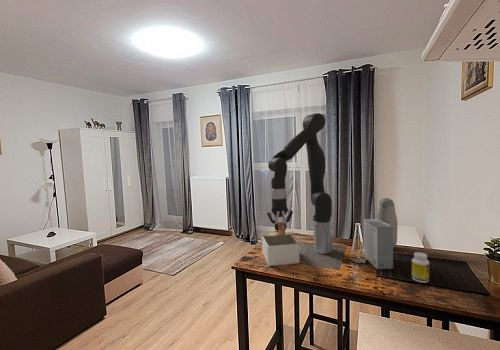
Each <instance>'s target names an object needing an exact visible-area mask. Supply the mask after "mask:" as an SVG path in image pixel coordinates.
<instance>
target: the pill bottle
mask: <svg viewBox="0 0 500 350" xmlns="http://www.w3.org/2000/svg"><path fill="white" fill-rule="evenodd" d="M411 279H412V280H413V281H415V282H418V283H423V284H425V283H429V281H430V261H429V260H428V254H427V253H424V252H419V251H418V252H417V251H416V252H414V253H413V258H412V259H411Z"/></svg>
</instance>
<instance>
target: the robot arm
mask: <svg viewBox="0 0 500 350" xmlns="http://www.w3.org/2000/svg"><path fill="white" fill-rule="evenodd" d="M325 125H326V117H325V116H324V114H322V113H319V112H318V113H317V112H315V113H312V114H309V115H306V116H305V117H303V120H302V130H301V131H300V132H299V133H298V134H296V135H295V136H294V137H293V138H291V139H290V140H289V141H288V142H287V143H286V144H285V145H284V146H283V147H282V149H280V150H279V151H278V152H277V153H276V154H274V155H273V156H272V157H271V158H270V160H269V161H268V169H269V170H270V171H271V172H273V173H274V175H273V177H272V178H271V180H270V181H271V185H270V187H271V192H270V193H271V194H270V195H271V210H269V211H266V215H267V216H268V219H269V221H270V222H271V224H274V230H275V231H276V232H277V231H278V224H277V223H278V222H279V218H281V219H282V222H284V226H285V230H287V223H290V221H291V219H292V217H293V213H294V211H293V210H291V209H288V203H287V201H288V199H287V197H288V196H287V189H286V177H287V174H288V173H287V172H288V163H287V162H288V161H291V160H292V159H293V158H294V157H295V156H296V154H298V152H299V151H300V150H301V149H302V147H304V145H306V154H307V155H306V156H307V165H308V166H307V167H308V173H309V180H310V202H311V204H312V206H313V207H314V214H313V216H312V219H313V220H312V223H313V224H312V227H313V233H312V234H313V251H314V252H315V253H316V254H320V255H321V254H322V255H325V254H326V255H327V254H330V253H333V234H331V233H332V231H331V226H332V225H331V218H332V214H333V213H332V211H333V208H332V206H333V201H332V200H333V199H332V197H331V195H330V194H329V193H327V192H325V185H324V179H325V174H326V169H327V168H326V167H327V165H326V164H327V163H326V156H325V153H324V152H325V151H324V150H323V149H322V146H321V145H320V143H319V141H318V136H317V133H319V132H320V131H321V130H322V129H324V127H325ZM286 214H287V216H286ZM272 215H274V219H273V217H272Z"/></svg>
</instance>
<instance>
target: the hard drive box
mask: <svg viewBox="0 0 500 350" xmlns="http://www.w3.org/2000/svg"><path fill="white" fill-rule="evenodd" d="M364 254H365V257H366V258H365V257H364V258H365V259H366V260H367V261H368V262H369V263H370V264H372V266H373V267H374V268H375V269H376V270H392V269H394V248H393V226H391V225H389V224H387V223H385V222H383V221H381V220H379V219H377V218H364V219H363V255H364Z"/></svg>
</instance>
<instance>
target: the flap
mask: <svg viewBox="0 0 500 350" xmlns="http://www.w3.org/2000/svg"><path fill="white" fill-rule="evenodd" d="M277 224H278V231H276V232H271V233H262V234H261V236H262V235H263V236H266V237H271V236H282V235H292V236H293V235H299V232H293V231H286V229H285V226H284V222H283V221H278V223H277Z"/></svg>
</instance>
